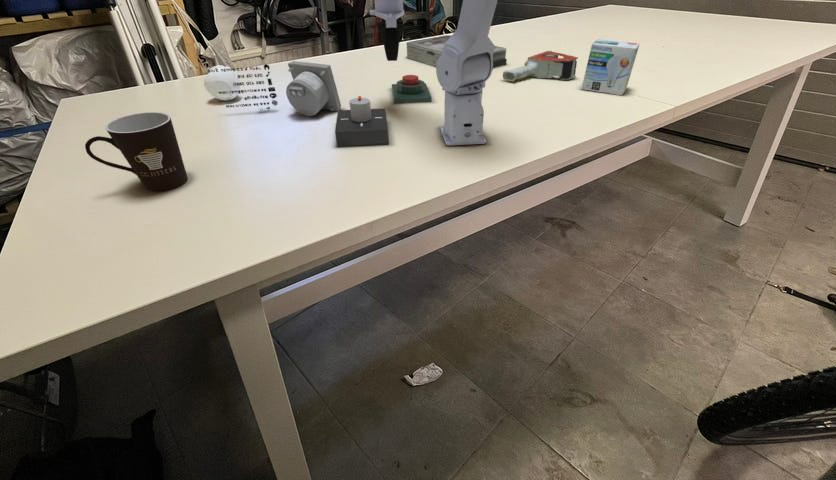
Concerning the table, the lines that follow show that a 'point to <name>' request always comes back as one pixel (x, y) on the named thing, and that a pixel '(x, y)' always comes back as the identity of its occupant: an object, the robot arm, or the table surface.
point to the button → (410, 80)
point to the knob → (360, 109)
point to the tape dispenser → (545, 67)
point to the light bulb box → (609, 66)
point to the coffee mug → (146, 149)
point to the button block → (411, 93)
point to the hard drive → (434, 47)
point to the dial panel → (361, 129)
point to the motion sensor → (222, 83)
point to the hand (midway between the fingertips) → (392, 60)
